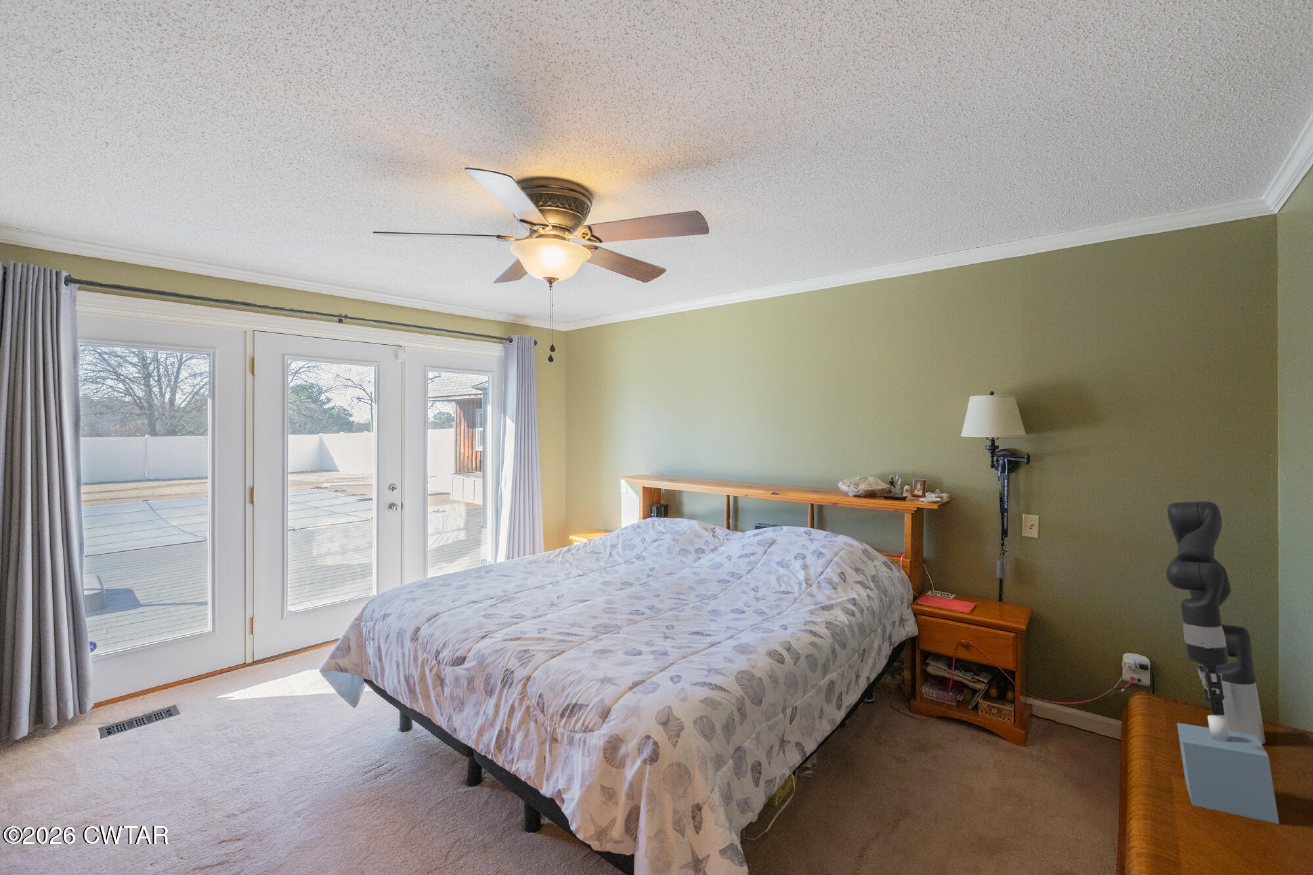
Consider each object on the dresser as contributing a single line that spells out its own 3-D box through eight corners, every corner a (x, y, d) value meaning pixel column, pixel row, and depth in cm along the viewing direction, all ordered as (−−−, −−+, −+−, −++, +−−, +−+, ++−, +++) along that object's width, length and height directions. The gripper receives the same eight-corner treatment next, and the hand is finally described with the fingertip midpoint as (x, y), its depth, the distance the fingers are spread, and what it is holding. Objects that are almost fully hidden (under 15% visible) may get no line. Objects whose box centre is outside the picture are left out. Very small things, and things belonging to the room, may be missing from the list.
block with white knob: (1185, 781, 147) (1174, 703, 148) (1265, 797, 138) (1252, 714, 139) (1192, 805, 137) (1180, 721, 138) (1279, 823, 128) (1264, 734, 130)
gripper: (1181, 633, 148) (1190, 695, 147) (1188, 647, 137) (1198, 715, 136) (1220, 636, 144) (1230, 700, 142) (1231, 651, 132) (1242, 721, 131)
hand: (1215, 707), depth 139 cm, fingers open, 8 cm apart
